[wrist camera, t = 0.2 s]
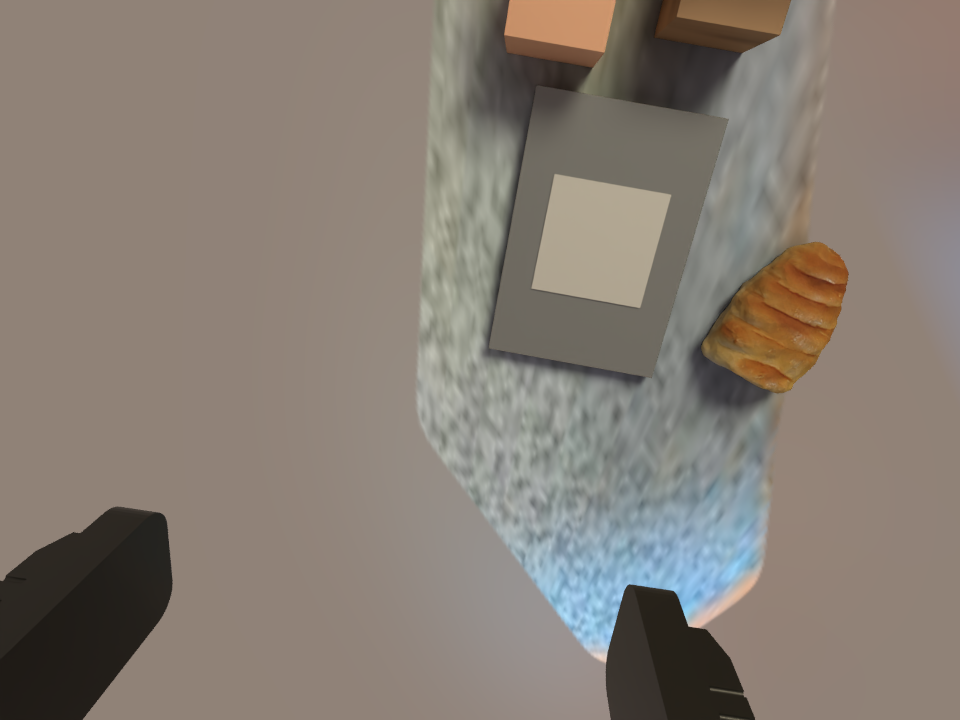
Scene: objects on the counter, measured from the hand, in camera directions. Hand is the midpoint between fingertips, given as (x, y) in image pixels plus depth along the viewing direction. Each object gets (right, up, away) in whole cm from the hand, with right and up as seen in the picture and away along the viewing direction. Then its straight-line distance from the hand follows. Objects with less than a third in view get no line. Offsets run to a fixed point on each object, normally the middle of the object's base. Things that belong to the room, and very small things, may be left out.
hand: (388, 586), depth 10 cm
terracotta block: (+6, +23, +22) cm, 32 cm away
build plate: (+9, +11, +26) cm, 29 cm away
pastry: (+20, +7, +27) cm, 34 cm away
